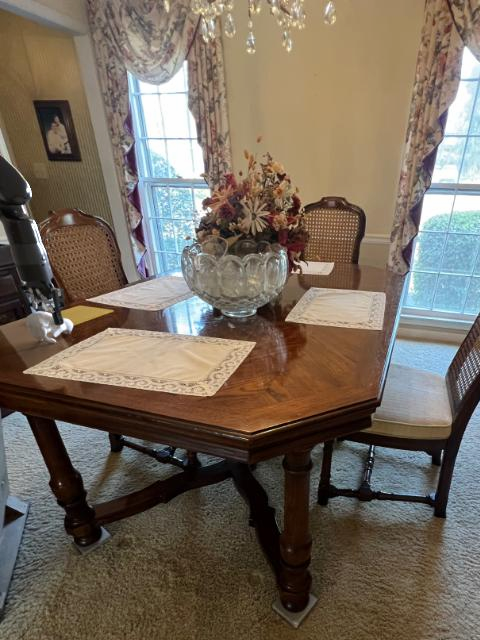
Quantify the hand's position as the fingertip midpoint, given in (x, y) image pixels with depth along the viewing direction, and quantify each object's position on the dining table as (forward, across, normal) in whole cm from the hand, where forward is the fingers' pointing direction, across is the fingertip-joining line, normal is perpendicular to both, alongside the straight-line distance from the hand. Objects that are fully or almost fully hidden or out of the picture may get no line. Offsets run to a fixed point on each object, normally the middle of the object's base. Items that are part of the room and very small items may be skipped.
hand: (52, 323), depth 107 cm
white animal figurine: (+5, 0, 0) cm, 5 cm away
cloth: (+4, -13, +17) cm, 22 cm away
